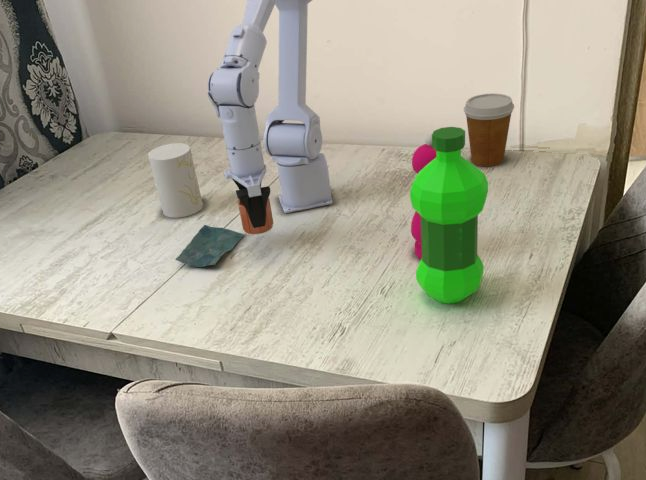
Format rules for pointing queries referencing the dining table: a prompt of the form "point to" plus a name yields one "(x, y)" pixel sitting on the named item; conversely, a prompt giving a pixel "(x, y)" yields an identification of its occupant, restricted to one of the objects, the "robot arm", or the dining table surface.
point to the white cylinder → (176, 180)
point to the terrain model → (208, 246)
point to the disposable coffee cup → (488, 127)
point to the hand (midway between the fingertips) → (256, 218)
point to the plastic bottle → (449, 219)
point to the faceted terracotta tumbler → (247, 223)
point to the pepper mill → (418, 163)
